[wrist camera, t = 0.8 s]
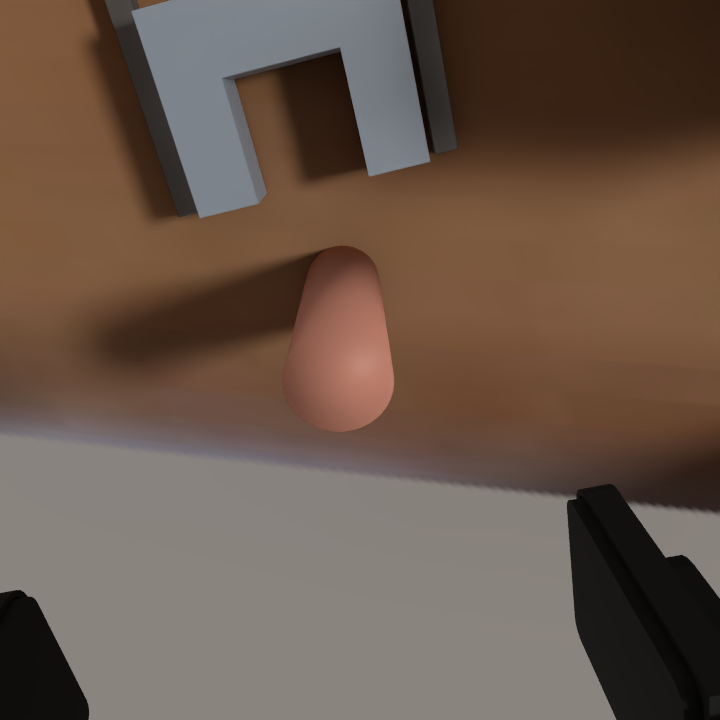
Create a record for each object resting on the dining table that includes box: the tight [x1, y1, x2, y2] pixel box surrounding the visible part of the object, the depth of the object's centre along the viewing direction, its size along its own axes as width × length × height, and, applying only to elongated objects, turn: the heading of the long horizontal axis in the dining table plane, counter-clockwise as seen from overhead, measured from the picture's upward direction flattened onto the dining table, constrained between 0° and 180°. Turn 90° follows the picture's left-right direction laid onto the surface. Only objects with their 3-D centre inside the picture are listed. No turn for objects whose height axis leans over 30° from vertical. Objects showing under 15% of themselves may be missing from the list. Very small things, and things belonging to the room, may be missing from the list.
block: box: [131, 0, 430, 218], centre depth 27 cm, size 10×8×3 cm
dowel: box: [283, 246, 394, 432], centre depth 26 cm, size 4×4×12 cm
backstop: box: [105, 0, 458, 217], centre depth 25 cm, size 16×14×5 cm
